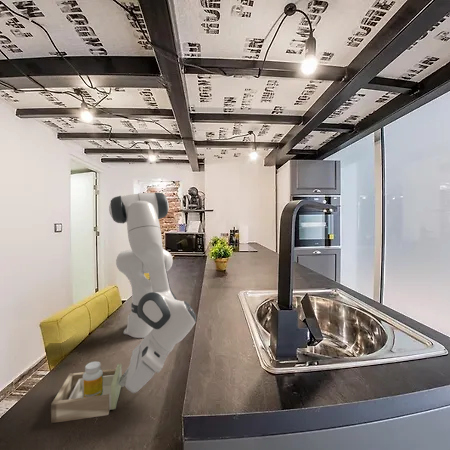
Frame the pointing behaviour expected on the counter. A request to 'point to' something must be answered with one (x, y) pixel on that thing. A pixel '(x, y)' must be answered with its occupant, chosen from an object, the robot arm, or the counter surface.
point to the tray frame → (78, 402)
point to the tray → (104, 387)
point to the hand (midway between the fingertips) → (121, 382)
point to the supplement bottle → (92, 380)
